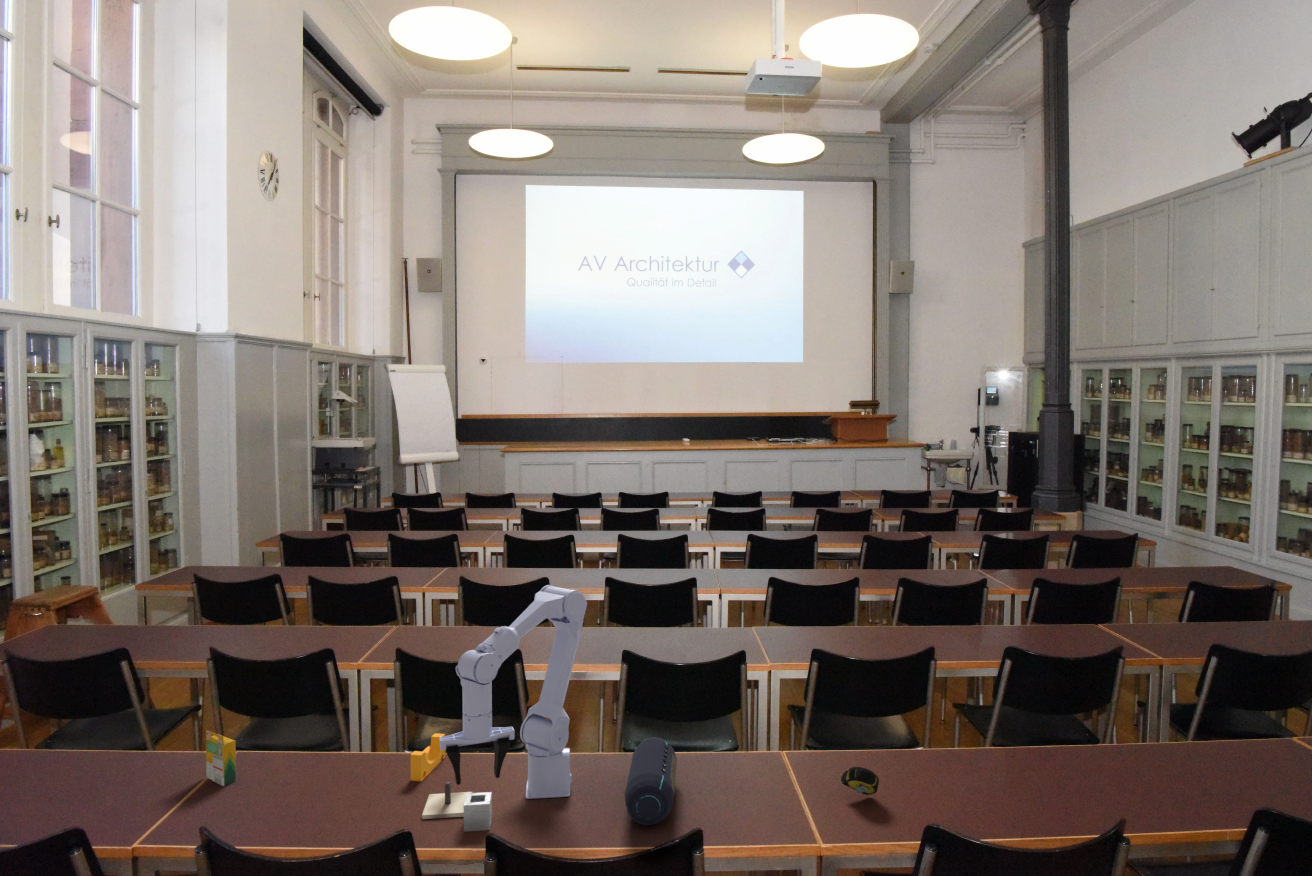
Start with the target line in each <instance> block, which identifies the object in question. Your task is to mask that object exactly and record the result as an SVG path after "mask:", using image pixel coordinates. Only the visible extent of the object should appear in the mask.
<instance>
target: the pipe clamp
mask: <svg viewBox="0 0 1312 876" xmlns="http://www.w3.org/2000/svg"><path fill="white" fill-rule="evenodd" d="M444 736H446V733H439V732H437V733H433V734H432V735H431V737H430V738H431V740H430V745H428V746H426V747H425V748H424V749H423V750H422V751H420V750H414V751H413V752H412V753H410V757H409V759H410V781H414V782H423V780H425V779H426V777H427V776H428V775H429V774H431V772H432V771H434V770H435V768H437V766H438V765H439V764H441V763H442V761H443V760H444V759H445V758H446V750H440V737H444Z"/></svg>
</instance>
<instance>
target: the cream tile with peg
mask: <svg viewBox="0 0 1312 876" xmlns="http://www.w3.org/2000/svg"><path fill="white" fill-rule="evenodd" d="M451 788H452V786H451V782H450V781H446V782H444V792H443V793H441V792H440V793H429V794H428V797H427V800H426V803H425V805H424V808H423V811H422V815H421V819H422V820H429V819H431V820H432V819H444V818H446V819H447V818H461V817H463V818H464V802H465V798H466V794H467V793H473V791H464V792H463V791H460V792H451V791H452V789H451Z"/></svg>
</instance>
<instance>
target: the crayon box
mask: <svg viewBox="0 0 1312 876" xmlns="http://www.w3.org/2000/svg"><path fill="white" fill-rule="evenodd" d="M205 737H206V738H205V749H206V750H205V758H206V759H205V760H206V761H205V766H206V767H205V772H206V773H205V775H206V776H205V778H206V779H209V780H210V781H213V782H214V783H216V784H218V785H220V786H222V787H225V786H228V785H230V784H232V783H234V782H236V781H237V778H236V777H237V771H236V770H237V766H236V765H237V764H236V763H237V762H236V759H237V753H236V750H237V749H236V746H237V745H236V740H235V739H231V738H230V737H226V736H224V735H222V734H219V733H216V732H214V731H210V730H207V729H205Z"/></svg>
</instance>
